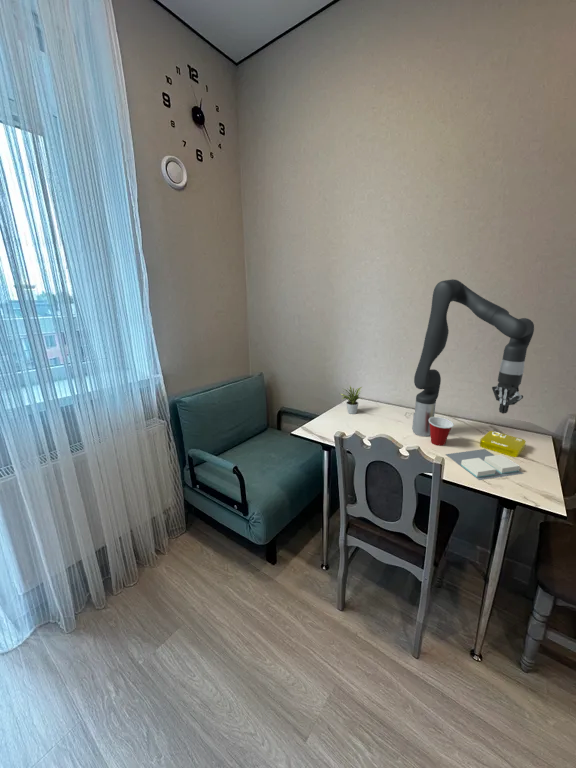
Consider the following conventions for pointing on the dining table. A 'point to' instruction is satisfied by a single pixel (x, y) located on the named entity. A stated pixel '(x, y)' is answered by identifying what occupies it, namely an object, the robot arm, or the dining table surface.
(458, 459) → the mat
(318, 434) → the dining table surface
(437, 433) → the plastic cup
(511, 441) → the element tile
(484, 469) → the tile
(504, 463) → the tile
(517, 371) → the robot arm
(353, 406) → the house plant
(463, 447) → the dining table surface
